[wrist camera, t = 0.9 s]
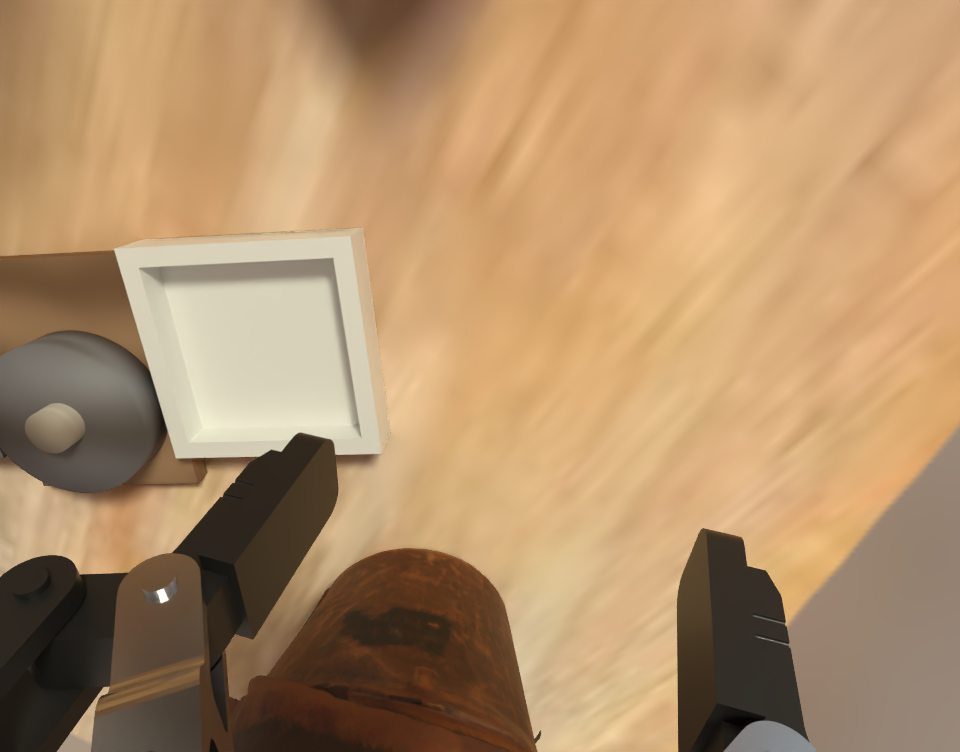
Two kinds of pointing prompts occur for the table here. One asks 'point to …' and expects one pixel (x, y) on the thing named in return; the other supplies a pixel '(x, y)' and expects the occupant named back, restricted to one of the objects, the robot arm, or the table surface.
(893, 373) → the table surface
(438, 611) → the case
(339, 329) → the tray
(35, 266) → the pulley board
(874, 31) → the table surface
